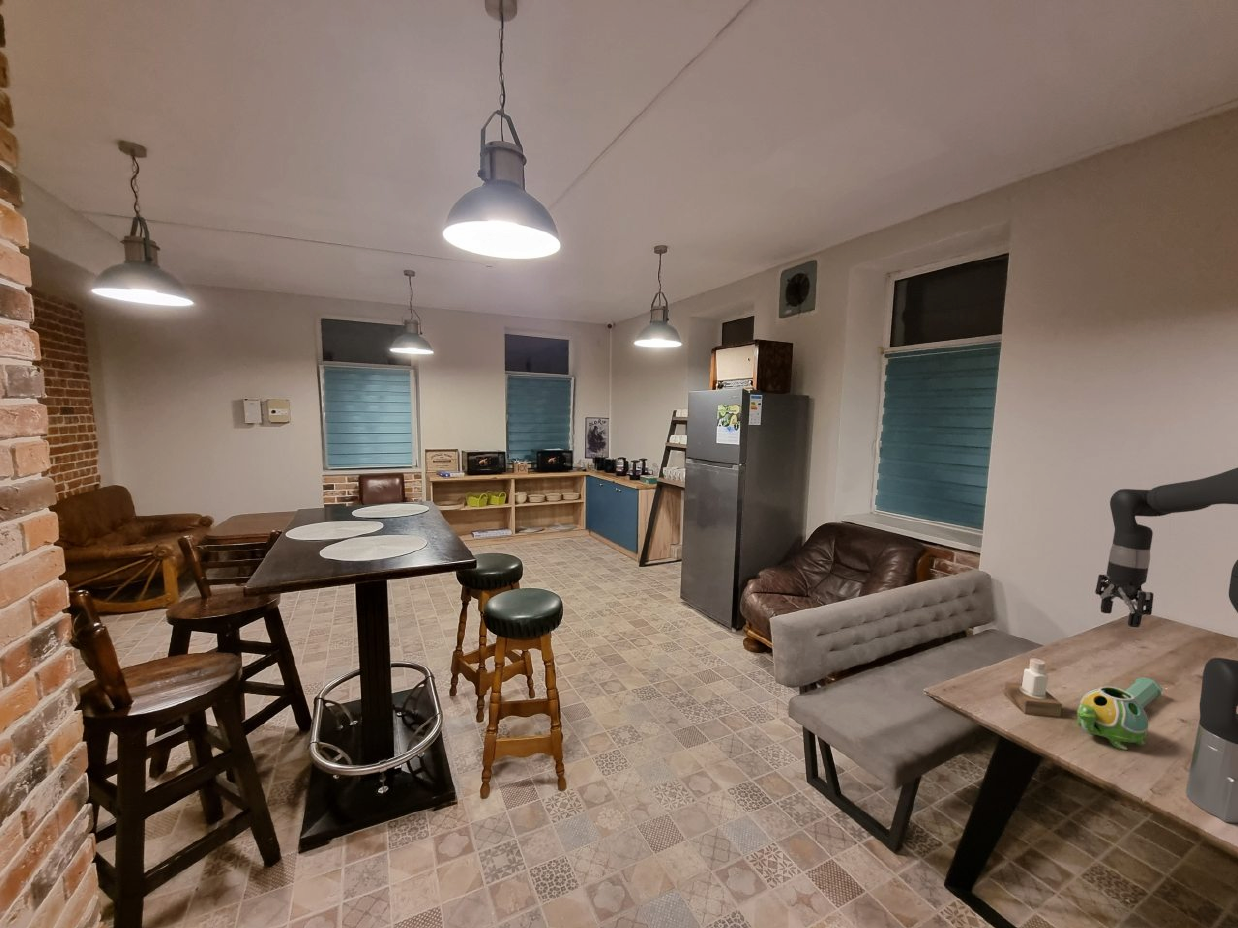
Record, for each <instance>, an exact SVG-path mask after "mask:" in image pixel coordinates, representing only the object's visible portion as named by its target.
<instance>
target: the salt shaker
mask: <svg viewBox="0 0 1238 928" xmlns="http://www.w3.org/2000/svg"><path fill="white" fill-rule="evenodd" d="M1045 665H1046V663H1045V661H1043V660H1041V659H1038V658H1035V657H1034V658H1030V661H1029V668H1025V669H1024V671H1023V678H1022V683H1021V684H1022V688H1023V689H1024V690H1026V691H1027V692H1028V693H1030V694H1031V695H1037V696H1044V695H1045V694H1046V691H1047V686H1048V679H1049V677H1048V674H1046V673H1045V672H1044V671H1045Z"/></svg>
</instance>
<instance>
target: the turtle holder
mask: <svg viewBox="0 0 1238 928" xmlns="http://www.w3.org/2000/svg"><path fill="white" fill-rule="evenodd" d="M1122 694H1123V695H1126V696H1127V697H1129V699H1126V698H1125V697H1124V696H1123V695H1122ZM1078 704H1079V707H1078V708H1077V710H1076V715H1077V720H1076V723H1077V725H1079V726H1080V727H1081V729H1082V730H1083V731H1084V732H1085V733H1087V734H1089V735H1096V736H1100V737H1104V738H1107V739H1108V740H1109V743H1110V744H1111V746H1113V747H1114V748H1117V749H1119V750H1123V751H1127V750H1128V747H1127V746H1126V745H1124V744H1123V743H1121V742H1125V743H1133V744H1134V745H1137V746H1145V745H1146V742H1145V741H1144V740H1145V739H1146V738H1147V731H1148V729H1149V718H1148V716H1147V713H1146V710H1145V708H1142V706H1141V705H1140V703H1139V702H1138V701H1137V700H1136V699H1135V697H1134V696H1133V695H1132V694H1130V693H1128V692H1126V691H1125V690H1124V689H1122V688H1119V687H1114V686H1100V687H1098V688H1096V689H1093V690H1090V691H1088V692H1087V693H1086V694H1084V695H1083V697H1082V698H1081V700H1080V702H1079V703H1078Z"/></svg>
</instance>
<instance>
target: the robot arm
mask: <svg viewBox="0 0 1238 928" xmlns="http://www.w3.org/2000/svg"><path fill="white" fill-rule="evenodd" d="M1109 505H1110V511H1111V516H1112V521H1113V526H1114V533H1113V539H1112V545H1111V548H1110V550H1109V557H1108V561H1107V562H1108V563H1107V568H1106V569H1107V570H1106V574H1099V575H1098V576H1097V577H1098V578H1097V582H1096V586H1095V591H1094V592H1095V594H1096V596H1097V595H1098V596H1099V597H1100V599H1101V603H1100V612H1101V613H1103V614H1111V613H1112V611H1113V605H1114V599H1115V598H1119V599H1120V600H1122V601H1123V603H1124V604H1125V605H1126V606H1127V607H1128V610H1129V614H1128V621H1127V626H1129V627H1130V628H1140V626H1141V624H1142V617H1143V615H1146V616H1151V615H1152V611H1153V603H1154V592H1151V591H1144V590H1143V589H1142V586H1143V584H1145V583H1147V578H1148V574H1149V573H1148V572H1149V566H1150V561H1151V547H1152V541H1153V535H1154V534H1153V533H1154V532H1153V529H1152V528H1151V527H1149V526H1147V525H1143V524H1139V523H1138V522H1137V520H1136V519H1137V518H1136V517H1147V518H1148V517H1149V518H1151V517H1163V516H1167V515H1170V514H1175V513H1177V514H1178V513H1185V512H1195V511H1200V510H1204V509H1207V508H1209V507H1211V506H1213V505H1238V467H1236V468H1232V469H1229V470H1227V471H1224V472H1221V473H1218V474H1215V475H1211V476H1207V477H1204V478H1199V479H1195V480H1187V481H1181V482H1174V483H1168V484H1163V485H1158V486H1156V487H1152V488H1151V489H1133V488H1132V489H1131V488H1123V489H1119V490H1118V489H1117V490H1116V491H1115V492H1114V493H1113V494H1112V496H1111V497H1110V500H1109ZM1229 579H1230V581H1229V588H1228V598H1229V601H1230V603H1231V605H1232V607H1233V608H1234V609H1235V612H1236V613H1237V614H1238V559H1237V560H1236V561H1235V562H1234V564H1233V566H1232V569H1231V573H1230V578H1229ZM1102 589H1103V590H1102ZM1144 608H1145V609H1144ZM1203 668H1204V669H1203V671H1202V672H1203V673H1202V678H1201V679H1202V681H1201V682H1202V683H1201V690H1200V691H1201V692H1200V698H1199V699H1200V700H1199V721H1198V727H1197V731H1196V736H1195V742H1194V746H1193V750H1192V751H1193V753H1192V757H1191V760H1190V761H1191V762H1190V768H1189V772H1188V778H1187V782H1186V783H1187V784H1186V788H1185V789H1186V790H1185V795H1186V797H1187V798H1188V800H1190V801H1191V802H1192V803H1193V804H1195V805H1196V806H1197V807H1198V808H1200V809H1201V810H1203V811H1205V812H1207V813H1209V814H1212V815H1213V816H1215V817H1217V818H1219V819H1220V820H1222V821H1223V822H1225V823H1234V824H1238V713H1237V707H1238V660H1237V659H1229V658H1224V657H1223V658H1222V657H1212V658H1210V659H1209V660H1208V661H1207V662H1206V663H1205V665H1204V667H1203Z"/></svg>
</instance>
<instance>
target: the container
mask: <svg viewBox="0 0 1238 928" xmlns="http://www.w3.org/2000/svg"><path fill="white" fill-rule="evenodd" d="M1162 690H1163V687H1161V686H1160V684H1158V683H1157V681H1156V680H1154V679H1152V678H1148V677H1146V676H1143V677H1139V678H1136V679H1134V683H1133V684H1131V686H1129V687H1128V688H1127V689H1125V690H1124V691H1126V692H1128V693H1130V694H1132V695H1133V696H1134V697H1135V699H1136V700H1137V701H1138V702H1139V703H1140V705H1141V706H1142V708H1143V709H1145V707H1147V706H1148V704H1150V703H1151V702H1152V701H1153V700H1154V699H1155V698H1159V697H1161V696H1162ZM1122 695H1123V694H1122ZM1123 696H1124V697H1125V698H1126V699H1129V697H1127V696H1126V695H1123Z"/></svg>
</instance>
